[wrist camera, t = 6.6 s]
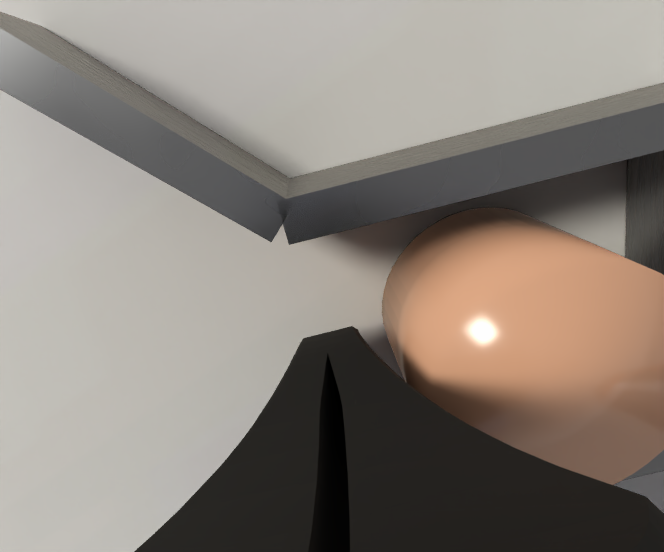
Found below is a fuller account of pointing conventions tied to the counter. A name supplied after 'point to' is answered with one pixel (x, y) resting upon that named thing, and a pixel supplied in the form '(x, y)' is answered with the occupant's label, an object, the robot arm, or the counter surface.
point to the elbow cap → (533, 339)
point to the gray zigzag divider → (353, 178)
